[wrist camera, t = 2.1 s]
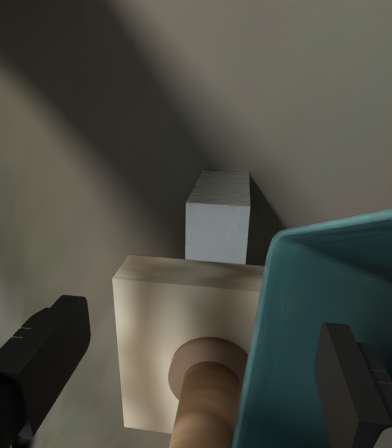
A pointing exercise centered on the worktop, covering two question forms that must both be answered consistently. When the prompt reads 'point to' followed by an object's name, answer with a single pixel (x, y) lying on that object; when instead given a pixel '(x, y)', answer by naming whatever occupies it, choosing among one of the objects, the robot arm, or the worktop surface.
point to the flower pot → (312, 323)
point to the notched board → (174, 324)
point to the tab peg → (218, 218)
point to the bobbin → (206, 392)
